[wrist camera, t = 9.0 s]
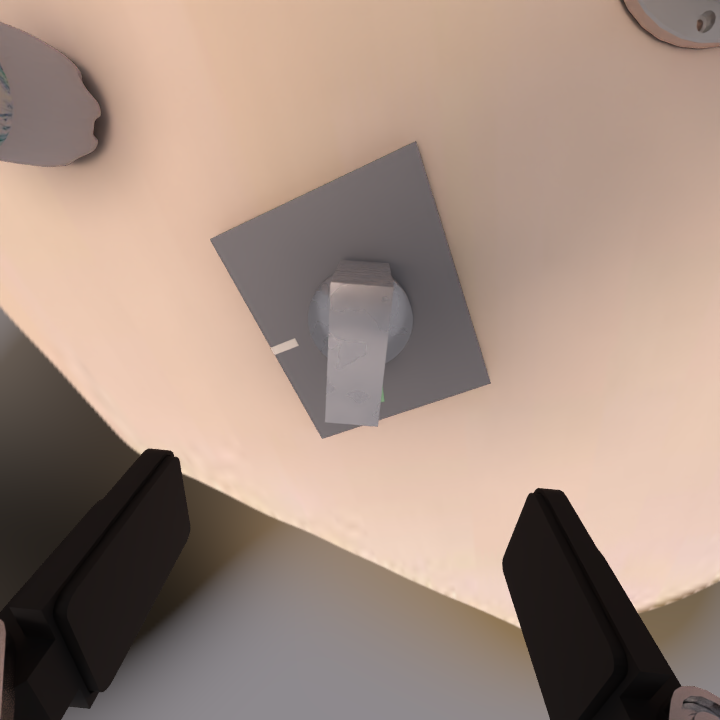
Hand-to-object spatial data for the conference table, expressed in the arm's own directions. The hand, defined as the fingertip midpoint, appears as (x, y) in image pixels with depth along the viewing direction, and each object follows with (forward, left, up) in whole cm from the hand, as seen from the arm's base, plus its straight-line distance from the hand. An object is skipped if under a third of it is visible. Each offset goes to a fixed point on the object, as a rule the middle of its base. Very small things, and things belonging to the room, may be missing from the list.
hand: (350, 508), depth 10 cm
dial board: (0, 0, -19) cm, 19 cm away
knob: (+1, +1, -17) cm, 17 cm away
